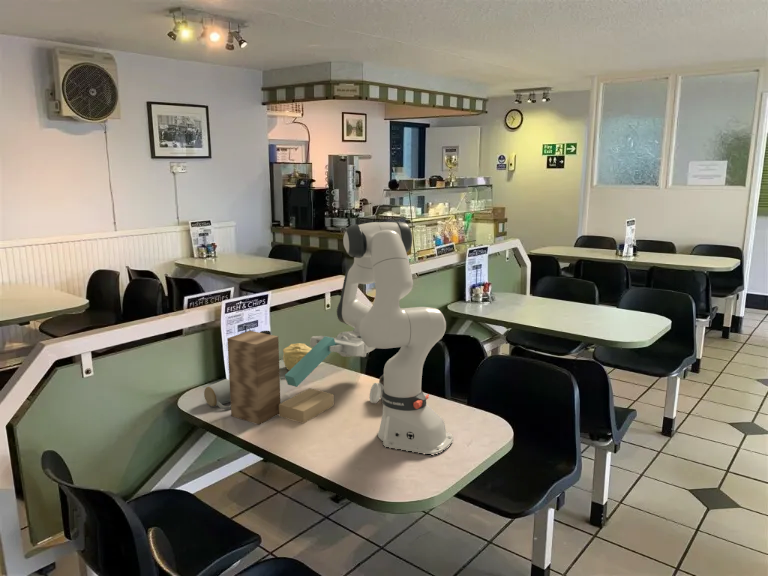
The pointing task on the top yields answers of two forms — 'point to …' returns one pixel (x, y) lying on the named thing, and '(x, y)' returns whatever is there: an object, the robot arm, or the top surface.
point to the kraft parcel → (306, 405)
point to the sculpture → (294, 354)
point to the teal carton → (309, 362)
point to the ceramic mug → (218, 394)
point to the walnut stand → (254, 376)
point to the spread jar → (377, 390)
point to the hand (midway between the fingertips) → (323, 347)
